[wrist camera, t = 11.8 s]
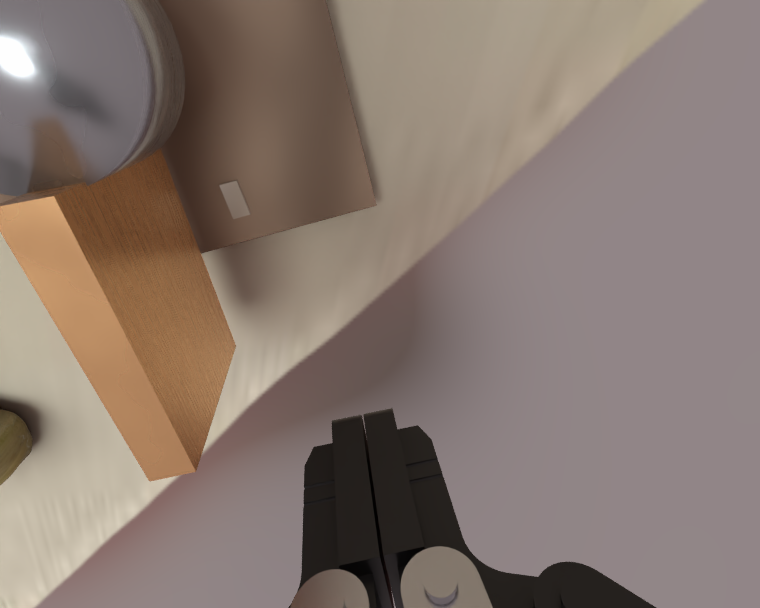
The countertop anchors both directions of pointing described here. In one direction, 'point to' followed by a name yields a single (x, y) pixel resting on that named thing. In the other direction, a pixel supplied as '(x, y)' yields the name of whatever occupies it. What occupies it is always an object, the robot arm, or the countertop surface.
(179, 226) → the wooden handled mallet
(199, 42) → the post block
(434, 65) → the countertop surface
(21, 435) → the fennel bulb
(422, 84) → the countertop surface
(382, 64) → the countertop surface
